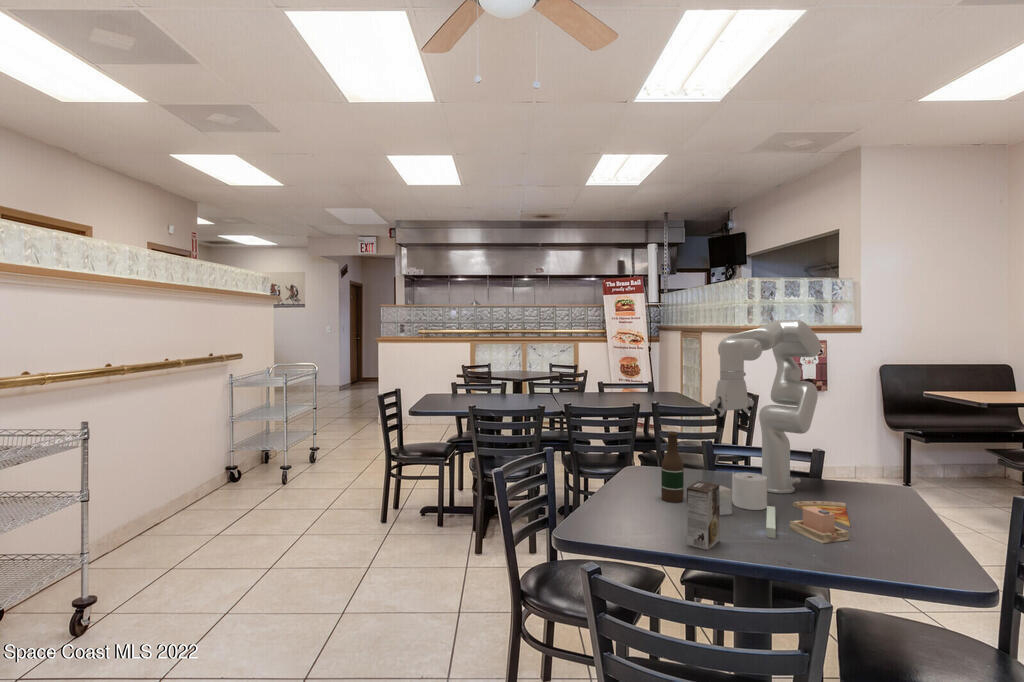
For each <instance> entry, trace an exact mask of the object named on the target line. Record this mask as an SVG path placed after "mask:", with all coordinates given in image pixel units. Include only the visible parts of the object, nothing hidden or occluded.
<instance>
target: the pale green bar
mask: <svg viewBox="0 0 1024 682" xmlns="http://www.w3.org/2000/svg"><path fill="white" fill-rule="evenodd" d="M765 524H766V525H765V526H766V528H765V529H766V531H765V537H766V538H769V539H776V538H777V537H776V535H777V533H776V506H773V505H772V506H770V505H767V508H766V523H765Z"/></svg>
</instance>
